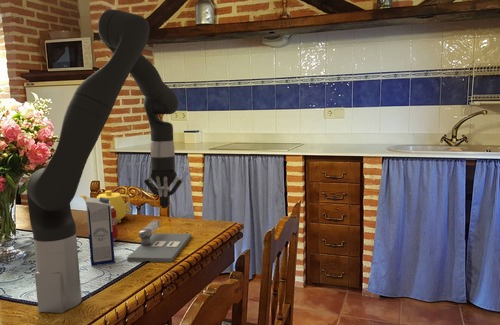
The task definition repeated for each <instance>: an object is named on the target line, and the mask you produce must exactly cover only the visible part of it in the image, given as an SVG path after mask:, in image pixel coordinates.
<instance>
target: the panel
mask: <svg viewBox="0 0 500 325" xmlns="http://www.w3.org/2000/svg"><path fill="white" fill-rule="evenodd" d="M192 236H193V235H192V233H171V232H170V233H168V232H167V233H165V232H164V233H163V232H160V233H159V232H158V233H157V232H153V233H152V236H151V237H149V238H140V241H141V242H140V243H141V244H140V245H139V246H138V247H137V248H136V249H135V250H134V251H132V252H131V253H130V254H129V255H128V256H127V259H126V260H127V262H146V261H150V262H152V263H172V262H173V261H174V260H175V258H176V257H177V256H178V255H179V254H180V252H181V251H182V249H183V248H184V247H185V245H187V243H188V242H189V241H190V240H191V238H192Z"/></svg>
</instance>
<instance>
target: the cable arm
mask: <svg viewBox="0 0 500 325" xmlns="http://www.w3.org/2000/svg"><path fill="white" fill-rule="evenodd" d="M161 221H162V220H161V219H152V220H151V221H150V222H149V223H148V224H147V225H146V226H145V227H144V228H142V229H140V230H139V231H138V234H139V235H138V236H139V238H140V239H141V238H149V237H151V236H152V235H153V234H154V233H155V231H156V230H157V229H158V228H160V227H161V226H162V225H161V224H162V223H161Z"/></svg>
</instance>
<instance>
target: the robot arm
mask: <svg viewBox="0 0 500 325" xmlns="http://www.w3.org/2000/svg"><path fill="white" fill-rule="evenodd" d="M97 32H98V34H99V35H98V36H99V38H100V39H101V41H102V43H104V44H105V46H106V47H107V48H108V49H109V50H110V51H111V52H112V56H111V57H110V59H109V60H108V61H107V62H106V63H105V64H104V65H103V66H102V67H101V68H99V69H98V70H97V71H95V72H94V73H91V75H90V76H88V77H87V78H85V80H83V81H82V82H81V83H80V84H79V85H78V86H77V87H76V89H75V91H74V93H73V95H72V97H71V99H70V101H69V103H68V106H67V107H66V111H65V113H64V115H63V116H64V117H63V120H62V123H61V130H60V134H59V139H58V143H57V145H56V147H55V150H54V153H52V156H51V158H50V159H49V162H48V163H47V165H46V166H45V167H43V168H40V169H38V170H35V171H34V172H33V173H32V174H31V175H30V177H29V178H28V179H27V180H28V181H27V183H26V196H27V198H26V199H27V206H28V214H29V215H28V216H29V223H30V227H31V230H32V235H33V247H34V255H35V256H34V257H35V268H36V269H35V270H36V272H35V273H34V281H35V290H36V300H37V310H38V311H37V312H39V313H59V314H63V313H64V312H65V311H67V310H70V309H72V308H75V307H77V306H78V305H79V304H80V303H81V302H82V299H83V298H82V288H81V287H82V285H81V276H80V265H79V254H78V253H79V250H78V240H77V228H76V222H75V219H74V217H73V213H72V208H71V207H72V206H71V203H72V201H73V199H75V196H76V193H77V190H78V188H79V185H80V182H81V179H82V176H83V173H84V170H85V166H86V164H87V162H88V160H89V157H90V155H91V153H92V151H93V150H94V148H95V146H96V143H97V142H98V139H99V137H100V136H101V133H102V131H103V129H104V127H105V125H106V123H107V121H108V119H109V117H110V115H111V113H112V110H113V108H114V107H115V103H116V101H117V99H118V97H119V95H120V92H121V91H122V88H123V87H124V84H125V83H126V81H127V79H128V76H129V75H130V76H132V78H133V80H134V82H135V83H136V85H137V87H138V88H139V90H140V92H141V94H142V95H143V96H144V97H143V107H144V111H145V113H146V116H147V117H146V118H147V120H148V125H149V128H150V168H151V172H150V176H149V177H148V178H145V180H144V181H143V183H144V184H145V186H147V188H148V189H149V190H150V191H151V193H152V194H153V195H154V196H158V197H159V207H161V209H168V208H169V206H170V196H173V195H174V194H175V193H176V192H177V190H178V189H179V188H180V187H181V185H182V184H183V183H184V179H183V178H180V177H179V176H178V174H177V172H176V159H175V158H176V157H175V151H176V150H175V142H174V126H173V123H171V122H169V121H168V122H167V121H164V120H161V119H160V117H159V115H172V114H175V113H176V112H177V111H178V108H179V99H178V98H177V97H178V96H177V95H176V94H175V92H174V91H173V90H172V89H171V88H170V87H169V86H168V85H167V84H166V83H164V81H163V79H162V77H161V75H160V73H159V71H158V70H157V67H155V65H153V64H152V62H151V61H150V60H149V59H148V58H146V56H145V55H143V54H142V53H143V51H144V49H145V47H146V45H147V43H148V40H149V37H150V36H149V35H150V25H149V21H148V20H147V19H146V18H145V17H143V16H142V15H139V14H136V13H131V12H128V11H123V10H120V9H119V10H118V9H107V10H105V11H103V13H102V14H101V15H100V17H99V19H98V23H97ZM173 183H174V185H173V187H172V188H171V185H172V184H173Z"/></svg>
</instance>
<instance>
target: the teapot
mask: <svg viewBox="0 0 500 325" xmlns="http://www.w3.org/2000/svg"><path fill="white" fill-rule="evenodd" d="M78 196H79V197H81V198H82V199H83V200H84V202H85V203H86V197H88V196H87V195H82V194H79V195H78ZM100 197H105V198H108V199H109V201H110V204H111V206H113V207H114V209H115V210H116V217H117V224H118V223H122V219H123V218H124V217H125V216H126V214H127V213H129V214H130V213H131V212H132V207H130V206H129V205H130V203H131V198H130V196H129V194H121V193H119V192H113V190H111V189H110V190H105V191H104V192H103V193H100V194H98V195H97V196H96V198H98V199H100ZM124 197H125V198H126V199H127V202H125V200H124Z"/></svg>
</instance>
